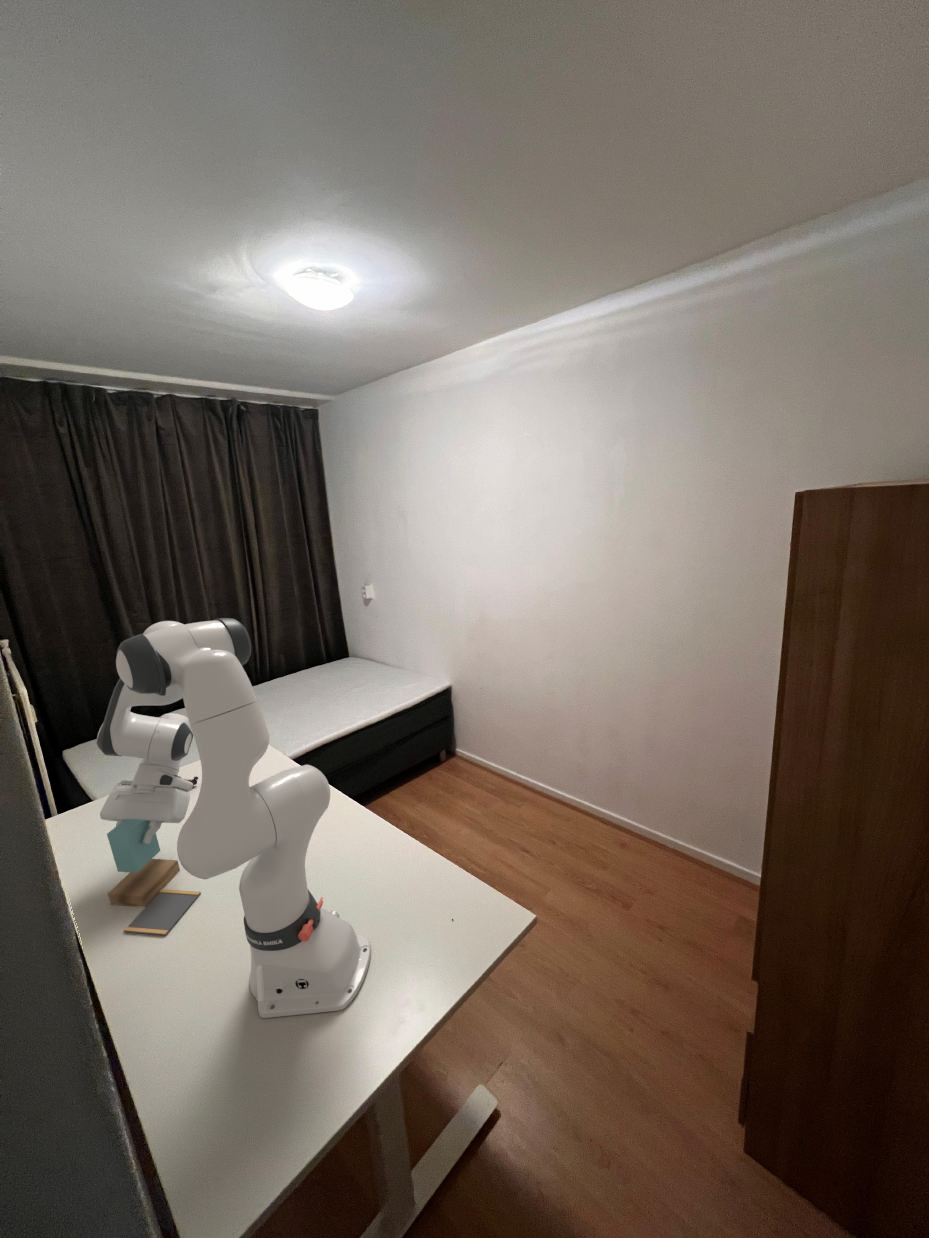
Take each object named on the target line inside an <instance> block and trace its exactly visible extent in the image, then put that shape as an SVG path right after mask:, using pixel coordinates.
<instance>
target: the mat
mask: <svg viewBox="0 0 929 1238" xmlns="http://www.w3.org/2000/svg"><path fill="white" fill-rule="evenodd" d="M201 894H202V892H201V891H194V890H191V891H190V890H183V889H181V890H179V889H168V888H167V889H165V888H163V889H161V890H160V892H159V894H158V895H157V896H156V897H155V898H154V899H153V900H152V901H151V902H150V903H149V904H148V905H147V906H146V907H144V909H142V911H140V913H139V914H138V915H137V916H136V917H135V918H134V919H133V920H132V921H131V922H130V924H129V925H127V926H126V927H125V928H124V929H122V930H123V933H125V934H132V935H133V934H134V935H144V936H147V935H148V936H157V937H167V936H168V935H169V933H170V932H171V931H172V930H174V928H175V927H176V925H177V924H178V923H179V922H180V920H181V919H182V918H183V917H184V915H185V914H186V913H187V912H188V910H189V909H190V908H191V907H192V906H193V905H194V903H195V902H196V901H197V900H198V899H199V897H200V896H201Z"/></svg>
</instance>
